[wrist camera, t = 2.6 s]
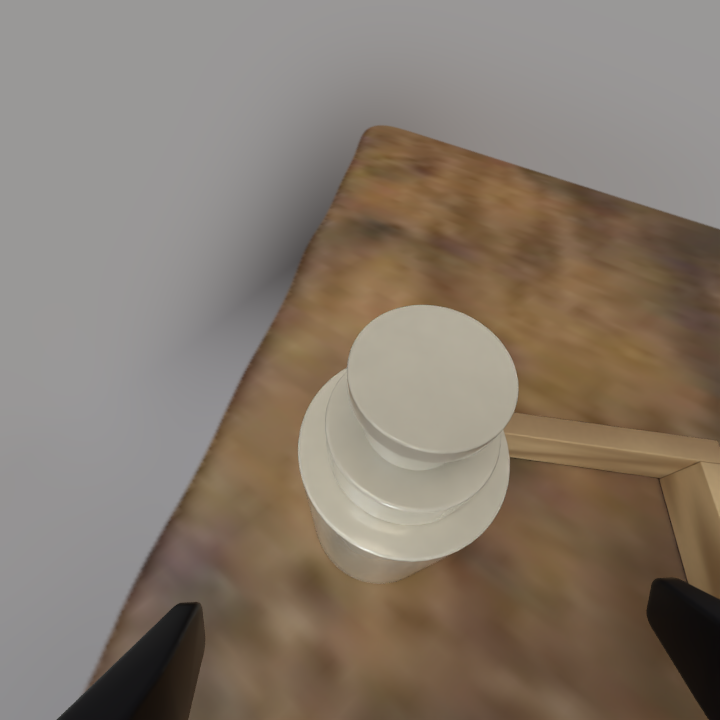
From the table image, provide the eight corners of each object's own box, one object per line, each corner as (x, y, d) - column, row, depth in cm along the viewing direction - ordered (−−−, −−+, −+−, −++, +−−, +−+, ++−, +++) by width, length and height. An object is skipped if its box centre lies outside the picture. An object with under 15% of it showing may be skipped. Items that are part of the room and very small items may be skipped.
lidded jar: (439, 593, 17) (620, 560, 6) (302, 572, 17) (239, 503, 6) (442, 459, 20) (563, 279, 9) (326, 442, 20) (312, 247, 10)
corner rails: (783, 810, 14) (873, 849, 12) (464, 757, 14) (488, 785, 12) (675, 459, 21) (718, 439, 19) (461, 429, 21) (476, 406, 19)
